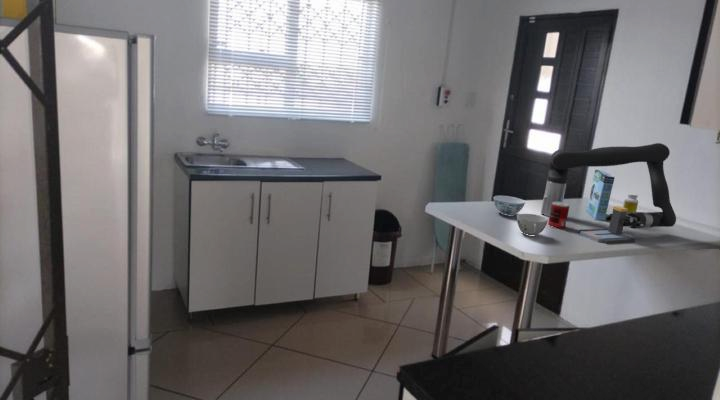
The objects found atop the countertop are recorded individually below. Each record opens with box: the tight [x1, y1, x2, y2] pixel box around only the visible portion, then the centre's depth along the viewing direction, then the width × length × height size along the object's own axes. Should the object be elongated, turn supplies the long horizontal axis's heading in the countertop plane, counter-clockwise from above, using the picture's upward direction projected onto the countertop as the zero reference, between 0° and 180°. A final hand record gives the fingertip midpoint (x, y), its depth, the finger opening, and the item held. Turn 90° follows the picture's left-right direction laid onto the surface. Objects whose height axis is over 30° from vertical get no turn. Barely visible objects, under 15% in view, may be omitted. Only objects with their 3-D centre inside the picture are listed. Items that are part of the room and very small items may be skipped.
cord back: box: [578, 228, 609, 234], centre depth 239 cm, size 18×1×1 cm, turn 114°
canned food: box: [547, 201, 570, 229], centre depth 242 cm, size 8×8×11 cm
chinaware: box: [493, 195, 526, 216], centre depth 255 cm, size 15×15×8 cm
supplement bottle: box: [622, 192, 639, 215], centre depth 275 cm, size 7×7×13 cm
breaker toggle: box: [608, 205, 628, 234], centre depth 233 cm, size 4×4×12 cm
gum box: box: [585, 169, 615, 222], centre depth 270 cm, size 20×5×23 cm, turn 170°
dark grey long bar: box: [603, 237, 637, 245], centre depth 226 cm, size 18×1×1 cm, turn 114°
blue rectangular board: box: [579, 230, 634, 243], centre depth 232 cm, size 22×10×2 cm, turn 114°
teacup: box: [516, 213, 549, 236], centre depth 222 cm, size 15×12×8 cm
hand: (614, 221), depth 232 cm, fingers open, 8 cm apart
